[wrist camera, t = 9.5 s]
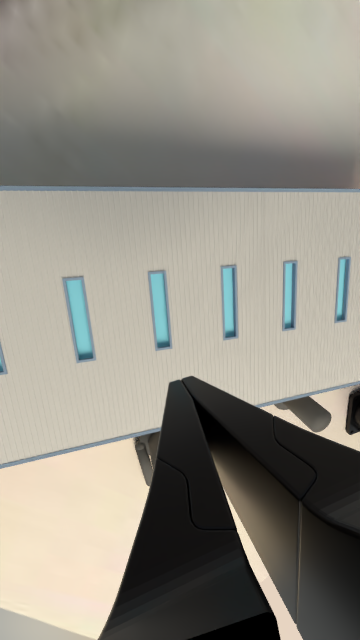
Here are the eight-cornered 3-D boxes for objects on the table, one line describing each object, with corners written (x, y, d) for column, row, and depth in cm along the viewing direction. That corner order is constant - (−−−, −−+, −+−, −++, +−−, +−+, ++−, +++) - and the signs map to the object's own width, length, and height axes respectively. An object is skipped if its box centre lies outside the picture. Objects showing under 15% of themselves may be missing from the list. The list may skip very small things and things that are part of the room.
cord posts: (333, 410, 31) (371, 440, 27) (146, 481, 26) (153, 532, 22) (337, 359, 28) (381, 383, 24) (130, 428, 24) (135, 473, 19)
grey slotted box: (344, 200, 23) (448, 183, 16) (320, 341, 27) (392, 376, 20) (-33, 202, 15) (-148, 173, 9) (24, 392, 20) (-21, 473, 13)
